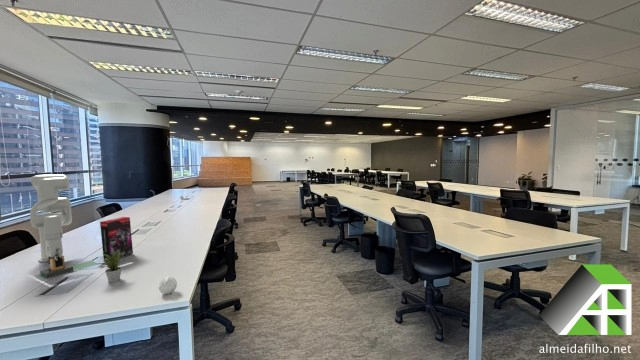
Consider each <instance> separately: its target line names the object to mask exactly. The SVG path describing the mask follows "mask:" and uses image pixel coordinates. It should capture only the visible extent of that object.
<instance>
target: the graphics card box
mask: <svg viewBox="0 0 640 360" xmlns="http://www.w3.org/2000/svg"><path fill="white" fill-rule="evenodd" d="M99 227H100V236H101V245H102V246H101V247H102V256H103V257H102V259H103V258H104V259H103V261H106V260H105V259H107V257H106V256H105V255H104V254H107V255H109V256H110V257H111V258H112V257H113V253H114V252H115V253H116V252H117V251H118V250H119V251H118V254H119V253H120V255H121V256H120V255H119V257H120V258H121V257H122V258H125V257H129V256H130V255H132V254H134V250H133V237H132V227H131V219H130V217H129V216H122V217H117V218H112V219H107V220H102V221H100V222H99ZM121 253H122V254H121ZM118 254H117V257H118ZM117 257H116V258H117Z"/></svg>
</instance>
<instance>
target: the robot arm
mask: <svg viewBox="0 0 640 360" xmlns="http://www.w3.org/2000/svg"><path fill="white" fill-rule="evenodd" d="M30 183H31V186H32V187H33V189H34V190H35V191H36V193H37V202H36V203H35V204H33V206H31V208H30V211H29V218H30V225H31V226H32V228H33V229H38V232H39V233H38V234H39V244H40V255H41V256H40V258H38V260H37V261H38V262H40V263H44V262H48V265H49V266H50V258H54V257H55V259H56V260H55V267H60V266H63V256H64V257H65V254H64V253H63V252H64V249H63V243H62V242H63V241H62V239H63V236H64V235H63V226H69V225H71V224H72V222H73V218H72V217H73V216H72V215H73V214H72V203H71V200H70V198H69V197H65V196H64V197H59V191H60V192H61V191H68V190H69V189H70V188H71V186H70V185H71V183H70V180H69V178H68V176H67V175H66V174H37V175H34V176H33V175H32V176H31V178H30ZM39 211H40V212H41V213H45V214H38V212H39Z"/></svg>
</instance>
